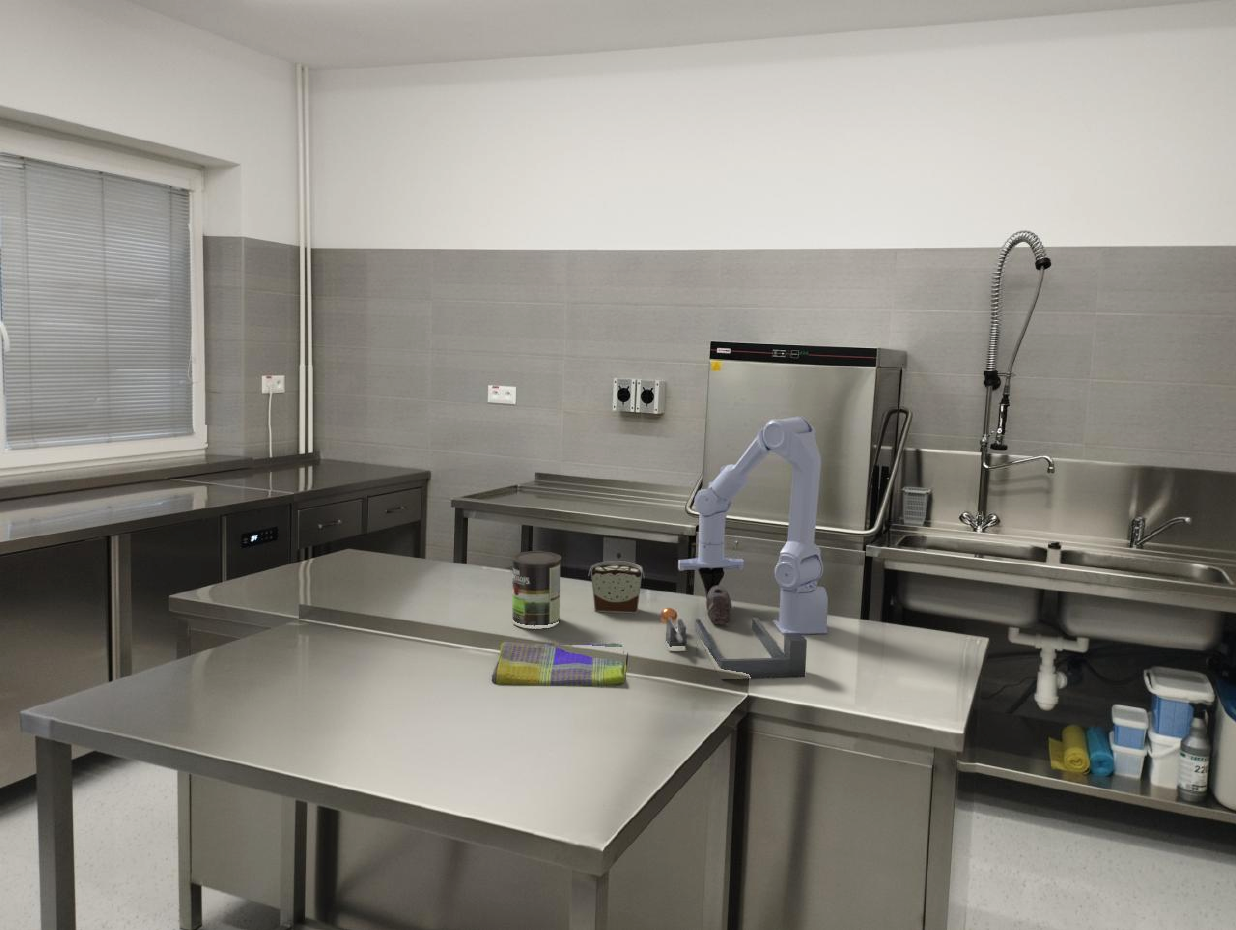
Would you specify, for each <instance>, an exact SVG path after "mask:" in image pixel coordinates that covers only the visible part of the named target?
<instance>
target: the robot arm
mask: <svg viewBox="0 0 1236 930" xmlns="http://www.w3.org/2000/svg"><path fill="white" fill-rule="evenodd" d="M816 441H817V440H816V428H815V426H813V425H812V423H810V422H809V421H808V419H806V418H805V417H803V416H797V415H796V416H793V417H789V418H783V419H782V418H781V419H771V420H769V421H768V422H767V423H765V425H764V427H762V428H761V429H760V430H758V433H757V436H756V437H755V439H754V440H753V441H752V442H751V443H750V445H749V446H748V448H747V449H746V450H745V451H744V453H743V454H742V456H740V458H739V459H738V461H737V462H736V463H735V464H727V465H724V466H722V467H721V468H720V469H719V470H720V473H719V474H718V475H717V476H716V478H715V479H714V480H712V481H709V483H708V487H707V488H703V489H699V490H698V491H697V493H696V495H695V497H694V503H693V504H694V507H695V509H696V511H697V513H698V514H699V519H698V520H699V521H698V522H699V523H698V526H699V527H698V554H697V555H698V557H696V558H687V559H678V562H677V569H678V571H681V572H682V571H685V570H686V571H687V570H691V571H692V570H697V572H698V574H699V576H700V578H701V581H702V584H703V587H704V592H705V599H706V600H707V595H708V592H709V590H710V589H711V588H712V587H713V586H716V585H719V586H720V583H721V582H722V580H723V578H724V577H725V571H724V570H744V567H745V561H744V560H743V559H742V558H729V557H725V537H726V536H725V533H726V532H725V531H726V518H727V514H728V511H729V510H730V508H731V506H732V500H733V499H734V498H735V497H736V496H737V495H738V494H739V493H740V491H741V490H743V489H744V487H745V486H746V485H747V484H748V482H749V481H748V480H749V478H748V475H749V474H750V473H751V472H752V471H753V470H754V469H755V468H756V467H757V466H758V465H759V464H760V463H761V462H762V461H763V460H764V459H765V458H766V457H767V456H768V455H769V454H770V453H772V452H773V453H775V454H778V455H779V456H781V457H782V458H783V459H785V460H786V461H787V462H788V463H789V464H790V466H791V467H792V475H791V476H792V477H791V490H790V501H789V502H790V503H789V512H788V514H789V515H788V526H787V527H788V528H787V539H786V540H787V541H786V543H785V545H784V546H783V547H782V549H781V550H780V552H779V559H778V561H777V564H776V565H775V567H774V570H773V571H774V572H773V573H774V577H775V581H776V582H777V585H779V589H780V595H779V619H773V620H772V621H773V623H774V625H775V626H776V627H777V629H778V630H779V632H781V634H782V635H784V634H785V633H801V634H802V635H810V634H811V635H813V634H815V635H817V634H828V629H827V625H828V624H827V623H828V609H829V607H828V606H829V604H828V603H829V602H828V601H829V600H828V594H827V590H826V589H825V587H823V586H817V585H818V580H820V578H821V577H822V575H823V572H824V564H823V562H822V558H821V548H820V547H819V546H818V545H817V544H816V543H815V539H816V538H815V536H816V526H817V525H816V524H817V512H818V502H819V489H820V477H821V467H822V456H821V454H820V451H819V448H818V444H817V442H816Z"/></svg>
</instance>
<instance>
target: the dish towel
mask: <svg viewBox="0 0 1236 930" xmlns="http://www.w3.org/2000/svg"><path fill="white" fill-rule="evenodd" d="M579 645H592V646H605V647H622V646H623V645H622V644H621V643H614V642H612V643H605V642H604V643H581V644H579ZM626 671H627V666H626V665H623V662H620V661H615V660H607V659H601V658H593V657H589V656H587V655H586V656H585V655H582V654H575V653H569V652H565V651H564V650H562V649H559V648H558V647H553V646H549V645H548V643H536V644H531V643H518V642H509V641H504V642H502V643H501V645H500V652H499V655H498V659H497V662H496V664H495V665H494V668H493V671H492V674H491V682H493V683H495V684H497V685H515V686H516V685H517V686H518V685H520V686H544V687H545V686H557V687H559V686H560V687H561V686H566V687H568V686H570V687H572V686H573V687H574V686H576V687H577V686H578V687H579V686H581V687H582V686H584V687H586V686H592V687H593V686H594V687H595V686H597V687H599V686H611V685H620V684H624V683H625V678H626Z"/></svg>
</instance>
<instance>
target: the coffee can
mask: <svg viewBox="0 0 1236 930" xmlns="http://www.w3.org/2000/svg"><path fill="white" fill-rule="evenodd" d="M561 561H562V556H561V555H559V554H557V553H554V552H550V551H542V550H534V551H533V550H532V551H522V552H519V553H516V554H514V555H513V556H512V557H511V564H512V565H511V566H512V570H511V572H512V573H511V574H512V575H511V576H512V577H511V578H512V579H511V580H512V584H511V585H512V590H511V591H512V594H511V595H512V596H511V597H512V600H511V601H512V603H511V604H512V607H511V608H512V619H513V620H514V621H515V622H517V623H520V624H525V625H534V626H535V625H548V624H553V623H556V622H558V621H559V620H560V621H561ZM512 619H511V620H512Z"/></svg>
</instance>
